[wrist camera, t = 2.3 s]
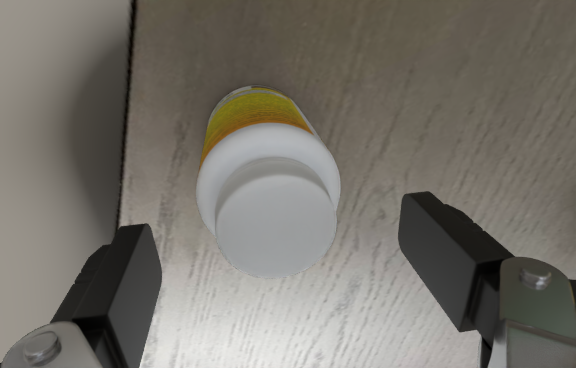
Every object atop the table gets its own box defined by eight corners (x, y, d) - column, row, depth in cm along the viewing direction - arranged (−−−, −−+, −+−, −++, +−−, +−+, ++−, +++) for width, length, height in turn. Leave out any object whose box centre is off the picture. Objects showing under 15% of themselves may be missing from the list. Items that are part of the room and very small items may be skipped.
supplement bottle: (186, 125, 19) (146, 226, 10) (264, 61, 18) (296, 109, 9) (250, 192, 22) (263, 321, 13) (322, 138, 21) (392, 236, 12)
